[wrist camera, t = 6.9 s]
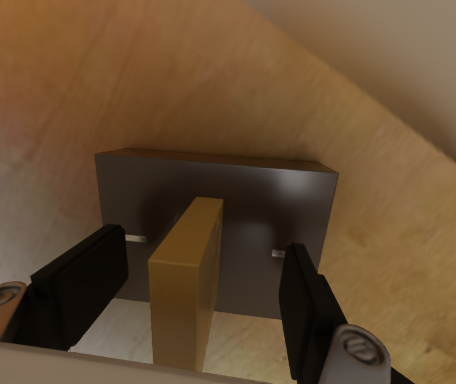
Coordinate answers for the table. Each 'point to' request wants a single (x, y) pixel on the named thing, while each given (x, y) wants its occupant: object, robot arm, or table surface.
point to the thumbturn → (186, 286)
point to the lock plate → (231, 220)
